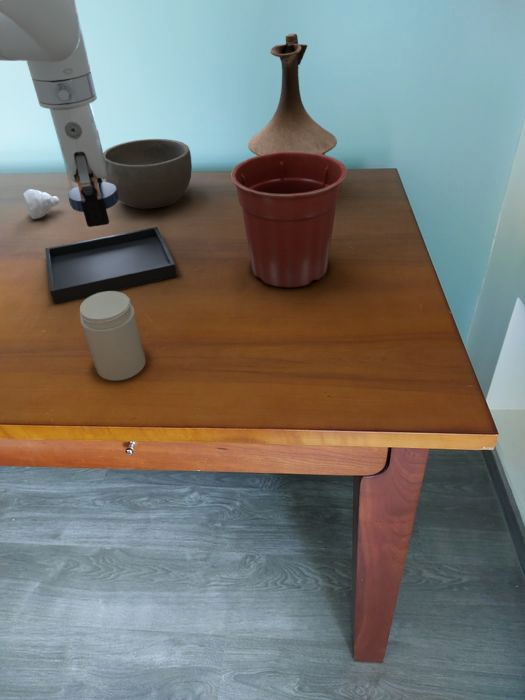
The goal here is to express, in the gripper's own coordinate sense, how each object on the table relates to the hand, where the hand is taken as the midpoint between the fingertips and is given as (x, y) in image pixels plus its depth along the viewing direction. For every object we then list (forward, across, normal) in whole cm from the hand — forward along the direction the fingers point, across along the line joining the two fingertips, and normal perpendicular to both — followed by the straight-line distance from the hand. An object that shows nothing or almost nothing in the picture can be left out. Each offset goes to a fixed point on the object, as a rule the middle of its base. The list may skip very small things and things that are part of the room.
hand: (97, 212), depth 81 cm
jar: (+10, -25, 0) cm, 27 cm away
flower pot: (+10, -10, -28) cm, 31 cm away
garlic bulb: (+10, +25, +11) cm, 29 cm away
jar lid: (-3, 0, 0) cm, 3 cm away
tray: (+10, 0, 0) cm, 10 cm away
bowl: (+10, +25, -10) cm, 29 cm away
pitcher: (+10, +18, -37) cm, 43 cm away
